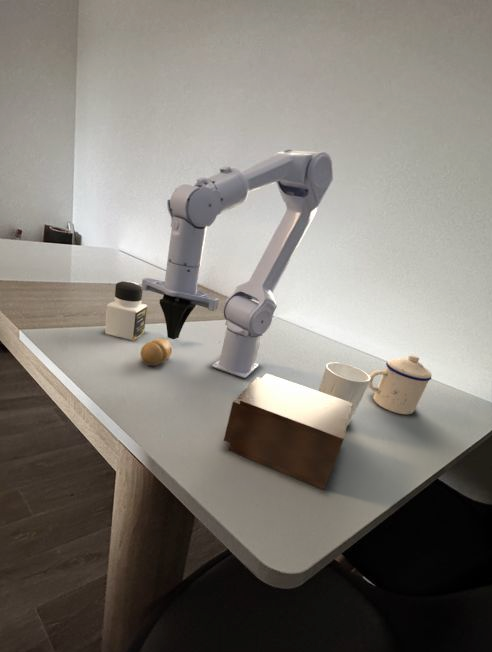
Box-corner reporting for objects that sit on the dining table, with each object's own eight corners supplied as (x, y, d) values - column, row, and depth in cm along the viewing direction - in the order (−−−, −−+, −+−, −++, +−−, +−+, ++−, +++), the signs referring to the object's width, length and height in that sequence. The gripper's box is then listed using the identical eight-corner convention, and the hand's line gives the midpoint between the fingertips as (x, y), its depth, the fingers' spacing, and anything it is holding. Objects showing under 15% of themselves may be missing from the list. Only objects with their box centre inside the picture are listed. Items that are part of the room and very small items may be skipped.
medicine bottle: (133, 341, 90) (138, 289, 85) (104, 333, 91) (107, 282, 86) (144, 332, 97) (149, 284, 91) (117, 325, 97) (121, 277, 92)
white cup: (351, 416, 77) (370, 370, 72) (351, 435, 70) (371, 386, 65) (312, 404, 78) (327, 358, 74) (307, 421, 71) (324, 372, 67)
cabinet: (228, 450, 59) (240, 400, 55) (254, 416, 69) (266, 373, 66) (323, 490, 54) (343, 439, 51) (335, 447, 65) (353, 403, 61)
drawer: (216, 437, 59) (225, 398, 56) (241, 408, 69) (250, 374, 66) (310, 476, 55) (325, 436, 52) (323, 439, 65) (336, 404, 62)
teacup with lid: (403, 398, 90) (424, 352, 85) (422, 418, 82) (446, 368, 77) (354, 389, 89) (372, 342, 84) (367, 409, 81) (389, 358, 76)
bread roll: (155, 353, 86) (157, 333, 84) (174, 360, 85) (177, 340, 83) (134, 363, 79) (137, 341, 77) (155, 371, 78) (158, 349, 76)
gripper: (135, 254, 66) (128, 330, 72) (213, 275, 62) (198, 354, 68) (156, 252, 72) (148, 323, 78) (228, 271, 68) (214, 344, 74)
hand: (173, 337), depth 73 cm, fingers closed
